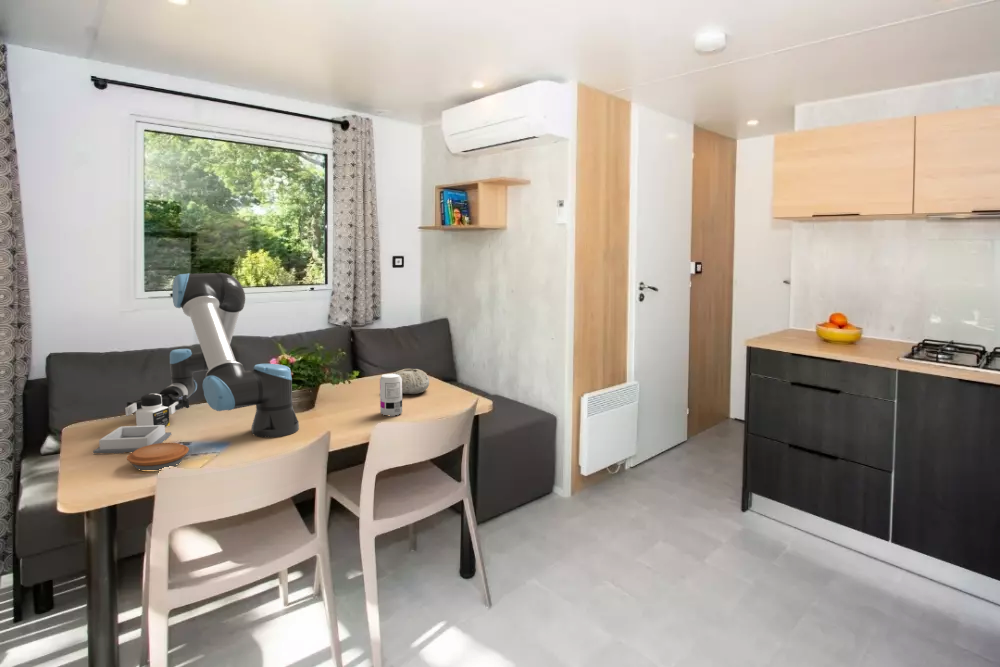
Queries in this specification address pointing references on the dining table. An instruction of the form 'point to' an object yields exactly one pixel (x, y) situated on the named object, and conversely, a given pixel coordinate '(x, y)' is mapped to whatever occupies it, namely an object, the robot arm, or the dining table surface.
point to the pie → (158, 456)
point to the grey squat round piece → (413, 381)
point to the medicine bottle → (152, 411)
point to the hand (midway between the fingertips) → (148, 411)
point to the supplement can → (391, 394)
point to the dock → (132, 438)
